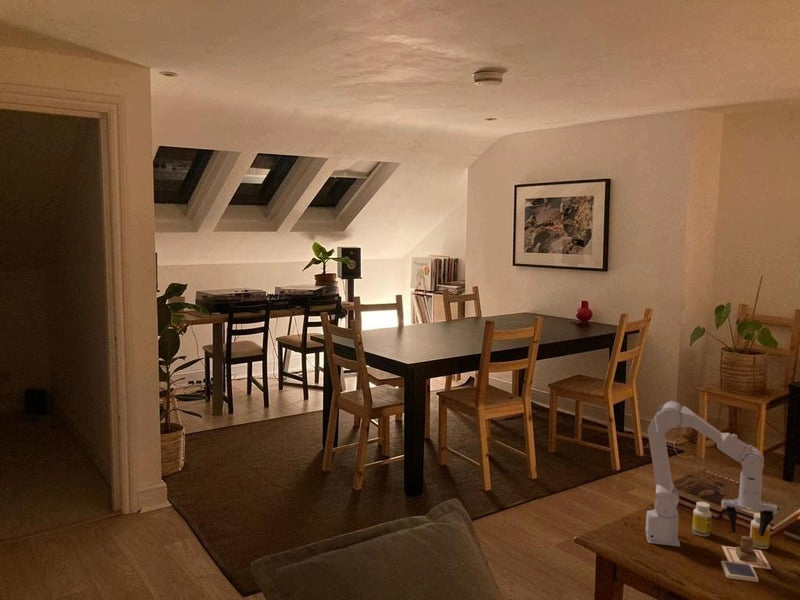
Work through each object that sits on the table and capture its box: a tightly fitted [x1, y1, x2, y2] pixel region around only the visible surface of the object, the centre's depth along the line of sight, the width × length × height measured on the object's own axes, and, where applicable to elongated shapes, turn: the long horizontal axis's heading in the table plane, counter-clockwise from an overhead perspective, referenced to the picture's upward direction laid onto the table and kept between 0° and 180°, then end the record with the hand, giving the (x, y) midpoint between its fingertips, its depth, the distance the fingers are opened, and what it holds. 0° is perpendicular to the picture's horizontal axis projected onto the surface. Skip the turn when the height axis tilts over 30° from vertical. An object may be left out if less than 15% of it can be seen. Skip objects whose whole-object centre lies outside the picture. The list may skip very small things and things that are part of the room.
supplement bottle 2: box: [749, 512, 771, 550], centre depth 202 cm, size 5×5×10 cm
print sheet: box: [721, 545, 772, 570], centre depth 194 cm, size 11×11×1 cm
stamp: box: [736, 535, 757, 562], centre depth 194 cm, size 4×4×6 cm
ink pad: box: [720, 560, 760, 583], centre depth 186 cm, size 8×8×1 cm
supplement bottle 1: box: [691, 501, 713, 537], centre depth 209 cm, size 5×5×10 cm
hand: (747, 533), depth 194 cm, fingers open, 7 cm apart
